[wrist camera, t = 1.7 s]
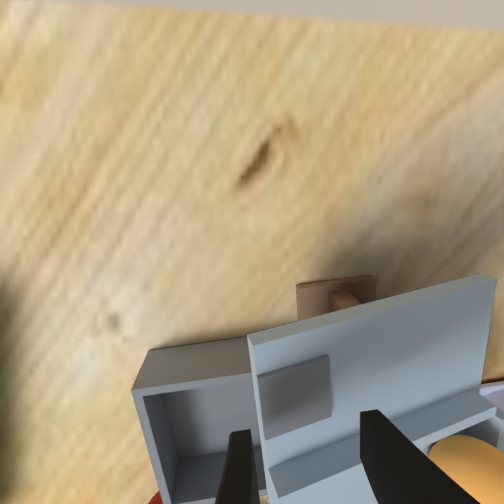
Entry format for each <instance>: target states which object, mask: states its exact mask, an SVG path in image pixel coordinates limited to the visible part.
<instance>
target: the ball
mask: <svg viewBox="0 0 504 504" xmlns="http://www.w3.org/2000/svg"><path fill="white" fill-rule="evenodd" d="M428 458H429V459H430V460H432V461H433V462H434V463H435V464H436V465H437V466H438V467H439V468H440V469H441V470H443V471H444V472H445V473H446V474H447V475H448V476H449V477H450V478H451V479H453V480H454V481H455V482H456V483H457V484H458V485H459V486H461V487H462V488H463V489H464V490H465V491H466V492H468V493H469V494H470V495H471V496H472V497H473V498H475V499H476V500H477V501H478V502H479V503H481V504H504V454H503V453H502V452H501V451H500V450H498V449H497V448H495V447H494V446H492V445H491V444H489V443H487V442H485V441H483V440H480V439H478V438H475V437H471V436H465V435H452V436H448V437H445V438H443V439H441V440H439V441H438V442H437V443H436V444H435V445H434V446H433V447H432V448H431V450H430V452H429V454H428Z"/></svg>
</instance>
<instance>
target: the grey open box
mask: <svg viewBox="0 0 504 504" xmlns="http://www.w3.org/2000/svg"><path fill="white" fill-rule="evenodd" d="M131 392H132V395H133V399H134V402H135V406H136V410H137V413H138V417H139V420H140V424H141V427H142V431H143V434H144V438H145V441H146V445H147V448H148V452H149V456H150V459H151V463H152V466H153V470H154V473H155V477H156V480H157V484H158V487H159V491H160V495H161V498H162V502H163V504H214V503H215V500H216V497H217V493H218V489H219V485H220V482H221V478H222V473H223V469H224V465H225V460H226V455H227V449H228V443H229V435H230V434H231V433H232V432H234V431H240V430H247V429H251V436H252V443H253V450H254V457H255V464H256V471H257V480H258V490H259V496H262V495H268V494H267V486H266V479H265V471H264V463H263V455H262V448H261V440H260V432H259V424H258V417H257V409H256V401H255V393H254V386H253V378H252V370H251V362H250V355H249V347H248V339H247V337H241V338H234V339H227V340H220V341H212V342H205V343H198V344H191V345H184V346H177V347H170V348H163V349H156V350H149V351H148V353H147V355H146V357H145V360H144V362H143V364H142V367H141V369H140V371H139V373H138V376H137V378H136V380H135V382H134V385H133V387H132V389H131Z"/></svg>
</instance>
